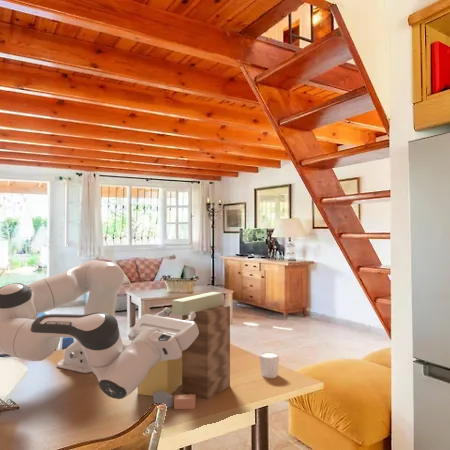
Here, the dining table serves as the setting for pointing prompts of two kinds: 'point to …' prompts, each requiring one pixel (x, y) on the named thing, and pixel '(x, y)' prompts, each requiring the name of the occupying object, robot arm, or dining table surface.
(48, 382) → the dining table surface
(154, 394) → the slate brick
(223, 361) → the walnut stand
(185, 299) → the sage brick
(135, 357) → the robot arm
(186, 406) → the terracotta brick
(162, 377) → the butter yellow block
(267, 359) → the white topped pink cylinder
